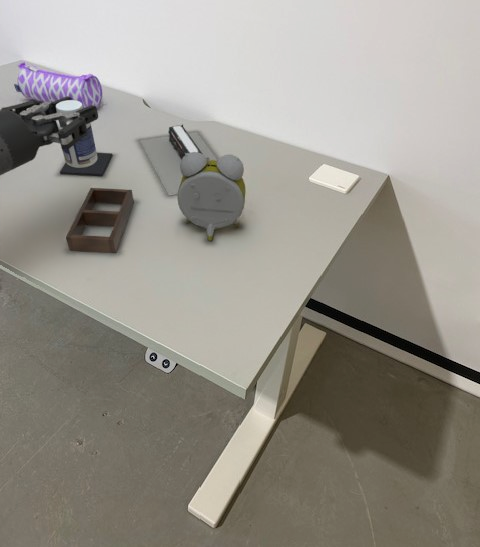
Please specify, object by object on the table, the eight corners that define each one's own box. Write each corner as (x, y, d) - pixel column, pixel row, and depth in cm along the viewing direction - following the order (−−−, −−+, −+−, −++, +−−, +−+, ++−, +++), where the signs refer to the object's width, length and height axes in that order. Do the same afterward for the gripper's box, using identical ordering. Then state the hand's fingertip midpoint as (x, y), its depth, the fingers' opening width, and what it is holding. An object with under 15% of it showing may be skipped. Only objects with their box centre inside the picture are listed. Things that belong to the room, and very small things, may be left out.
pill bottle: (101, 154, 75) (91, 99, 68) (93, 169, 71) (80, 113, 64) (71, 152, 75) (57, 96, 68) (61, 167, 71) (45, 110, 64)
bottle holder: (69, 250, 72) (65, 237, 70) (93, 200, 83) (90, 187, 81) (116, 253, 72) (113, 239, 70) (133, 202, 83) (131, 189, 81)
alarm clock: (243, 221, 80) (248, 149, 70) (241, 244, 76) (246, 170, 65) (183, 217, 81) (179, 144, 70) (177, 239, 76) (171, 165, 65)
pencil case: (18, 103, 113) (6, 66, 107) (40, 91, 120) (30, 55, 113) (90, 117, 109) (82, 80, 103) (109, 104, 116) (102, 68, 109)
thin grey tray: (196, 132, 106) (196, 116, 103) (234, 183, 90) (235, 165, 87) (140, 140, 102) (137, 123, 99) (169, 195, 86) (167, 177, 83)
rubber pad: (60, 174, 89) (59, 171, 89) (73, 153, 96) (72, 151, 95) (102, 176, 90) (102, 174, 89) (112, 155, 96) (112, 153, 96)
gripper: (16, 136, 53) (112, 94, 63) (-54, 106, 57) (47, 72, 68) (34, 187, 58) (120, 141, 69) (-32, 156, 63) (58, 117, 73)
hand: (83, 107), depth 68 cm, fingers closed on pill bottle, 5 cm apart
